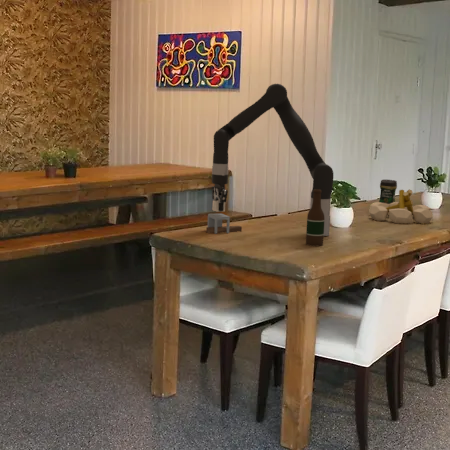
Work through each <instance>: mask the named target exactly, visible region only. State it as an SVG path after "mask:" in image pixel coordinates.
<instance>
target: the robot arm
mask: <svg viewBox="0 0 450 450" xmlns="http://www.w3.org/2000/svg"><path fill="white" fill-rule="evenodd" d="M271 109H274V111H275V112H276V113H277V115H278V117H279V118H280V121H281V124H282V125H283V128H284V130H285V132H286V134H287V135H288V137H289V139H290V141H291V143H292V144H293V146H294V148H295V149H296V150H297V152H298V153H299V155H300V156H301V158H302V159H303V161H304V162H305V164H306V167H307V169H308V171H309V173H310V176H311V178H312V181H313V182H312V190H311V191H310V202H309V203H310V204H309V205H310V206H309V210H310V209H311V208H312V203H313V195H314V192H313V190H314V189H320V190H321V191H322V192H321V209H322V211H323V213H324V237H325V236H327V237H329V236H330V230H331V229H330V227H331V203H332V202H331V199H332V193H333V187H334V170H333V168H332V167H331V165H329V164H326V163H325V160H323V158H322V156H321V155H320V154H319V151H318V150H317V147H316V144H315V141H314V139H313V136H312V134H311V132H310V130H309V128H308V127H307V125H306V123H305V122H304V120H303V119H302V118H301V117H300V115H299V114H298V112H296V110H295V108H294V107H293V106H292V104H291V102H290V100H289V98H288V90H287V89H286V86H284V85H282V84H281V83H272V84H271V85H268V87H267V89H266V91H265V93H264V94H263V95H262V96H261V97H260V98H259V99H258V100H257V101H255V102H254V103H252V104H250V106H248V107H247V108H245V109H244V110H241V112H239V113H238V114H237V115H236V116H234V117H233V118H231V120H230V121H229V122H228V123H226V124H224V126H222V127H220V128H218V129H217V130H216V131H215V133H214V135H213V156H212V167H211V183H212V184H213V185H214V186H211V197H212V200H213V201H214V200H219V211H221V212H224V211H223V208H224V202H225V203H227V198H228V192H229V191H228V189H226V186H225V185H228V183H229V146H230V145H229V144H230V143H229V142H230V140H232V139H233V138H234V137H235V136H237V134H240V133H241V132H242V131H244V130H246V128H248V127H249V126H250V125H252V124H253V123H254V122H255V121H257V119H259V118H260V117H261V116H262V115H264V114H265V113H266V112H267V111H270V110H271Z"/></svg>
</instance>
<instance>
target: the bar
mask: <svg viewBox="0 0 450 450" xmlns="http://www.w3.org/2000/svg"><path fill="white" fill-rule="evenodd" d="M214 229H215V227H206V229H205V230H206V231H205V232H206V233H207V234H215V233H214ZM226 229H227V225H226V226H222V227H217V234H218V233H219V234H220V233H222V234H223V233H226ZM237 231H240V232H242V226H240V225H229V233H238V232H237Z"/></svg>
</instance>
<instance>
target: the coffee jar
mask: <svg viewBox="0 0 450 450" xmlns="http://www.w3.org/2000/svg"><path fill="white" fill-rule="evenodd" d="M379 183H380V184H379V188H380V194H379V195H380V196H379V199H378V200H379V201H378V202H381V203H386V204H391V203H393V202H396V190H397V189H398V182H397V180H392V179H381V180H380V182H379Z"/></svg>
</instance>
